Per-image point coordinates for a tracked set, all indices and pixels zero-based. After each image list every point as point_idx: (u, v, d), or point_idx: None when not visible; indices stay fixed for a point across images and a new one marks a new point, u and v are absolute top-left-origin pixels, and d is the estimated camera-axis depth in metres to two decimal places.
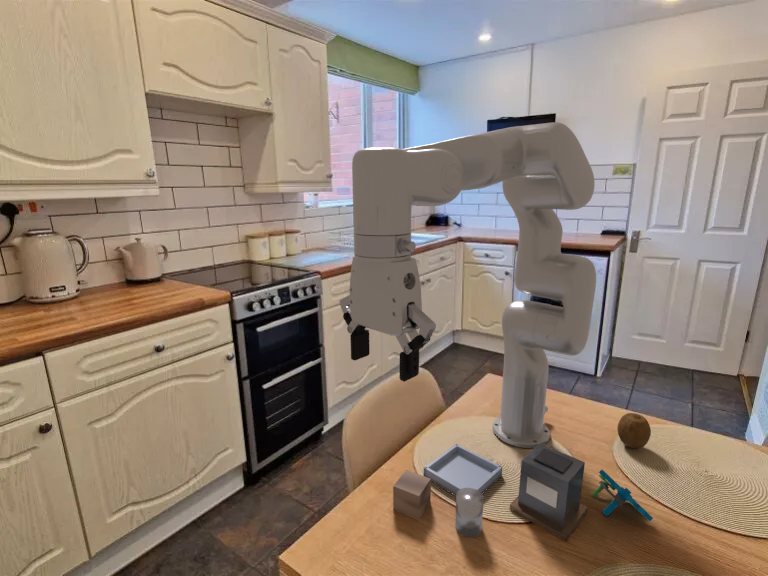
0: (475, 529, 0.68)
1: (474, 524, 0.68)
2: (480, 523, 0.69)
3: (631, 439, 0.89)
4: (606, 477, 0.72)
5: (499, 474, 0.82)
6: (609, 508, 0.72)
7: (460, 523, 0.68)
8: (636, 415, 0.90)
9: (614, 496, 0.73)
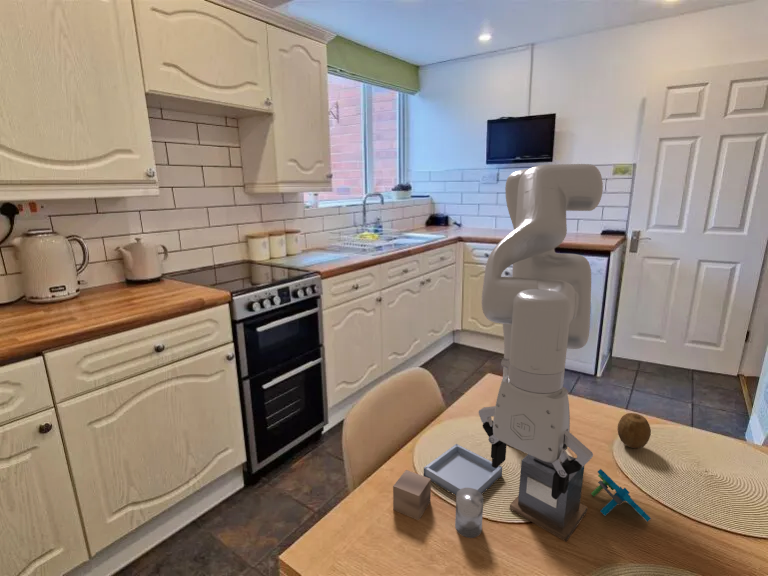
0: (475, 529, 0.68)
1: (474, 524, 0.68)
2: (480, 523, 0.69)
3: (631, 439, 0.89)
4: (604, 476, 0.72)
5: (499, 474, 0.82)
6: (607, 508, 0.72)
7: (460, 523, 0.68)
8: (636, 415, 0.90)
9: (612, 496, 0.73)
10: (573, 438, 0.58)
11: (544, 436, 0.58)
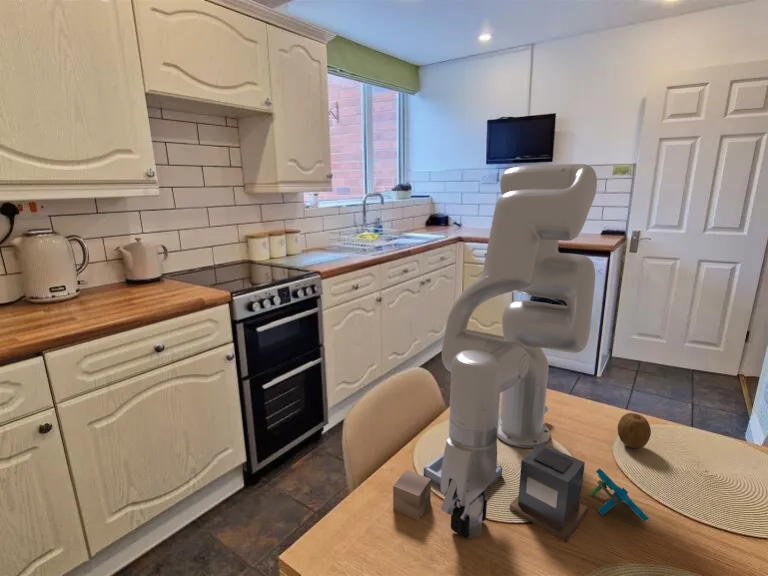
0: (475, 529, 0.68)
1: (474, 524, 0.68)
2: (480, 523, 0.69)
3: (631, 439, 0.89)
4: (602, 476, 0.72)
5: (499, 474, 0.82)
6: (605, 507, 0.72)
7: None
8: (636, 415, 0.90)
9: (610, 495, 0.73)
10: (450, 491, 0.64)
11: None
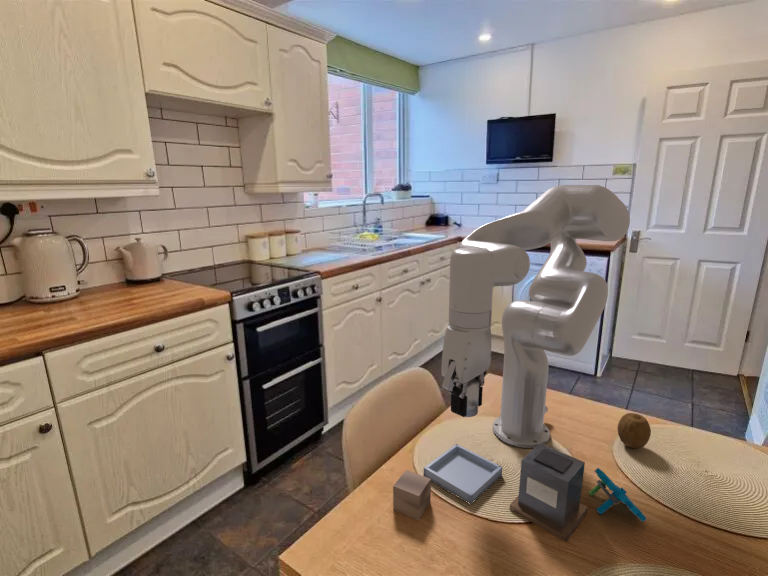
0: (472, 409, 0.77)
1: (471, 404, 0.77)
2: (476, 404, 0.78)
3: (631, 439, 0.89)
4: (600, 475, 0.72)
5: (499, 474, 0.82)
6: (604, 507, 0.73)
7: None
8: (636, 415, 0.90)
9: (609, 495, 0.73)
10: (450, 370, 0.73)
11: None
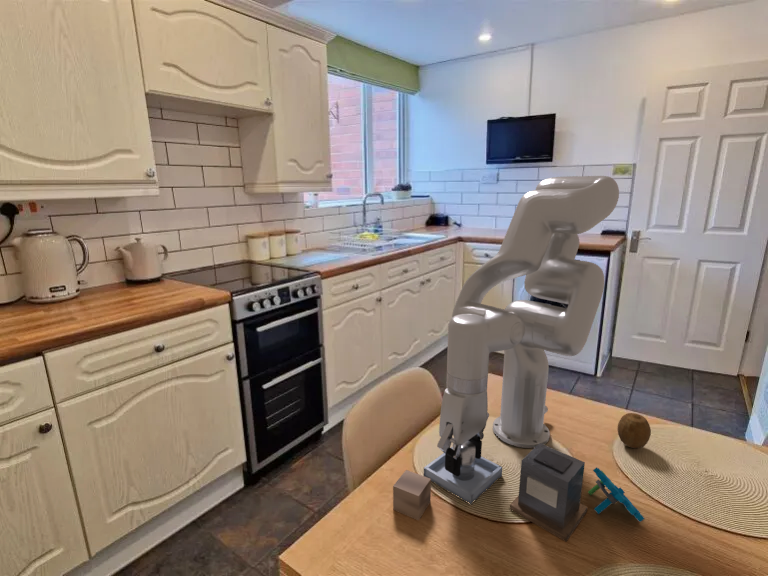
0: (468, 473, 0.80)
1: (467, 468, 0.80)
2: (473, 468, 0.81)
3: (631, 439, 0.89)
4: (598, 475, 0.72)
5: (499, 474, 0.82)
6: (601, 506, 0.73)
7: None
8: (636, 415, 0.90)
9: (607, 495, 0.73)
10: (446, 431, 0.76)
11: None
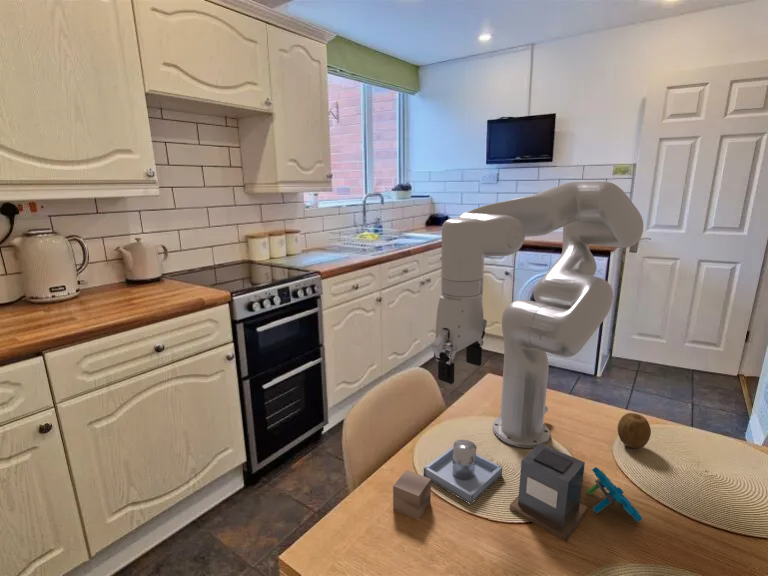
0: (468, 473, 0.80)
1: (467, 468, 0.80)
2: (473, 468, 0.81)
3: (631, 439, 0.89)
4: (597, 474, 0.72)
5: (499, 474, 0.82)
6: (600, 506, 0.73)
7: (456, 468, 0.81)
8: (636, 415, 0.90)
9: (606, 494, 0.73)
10: (442, 334, 0.74)
11: None
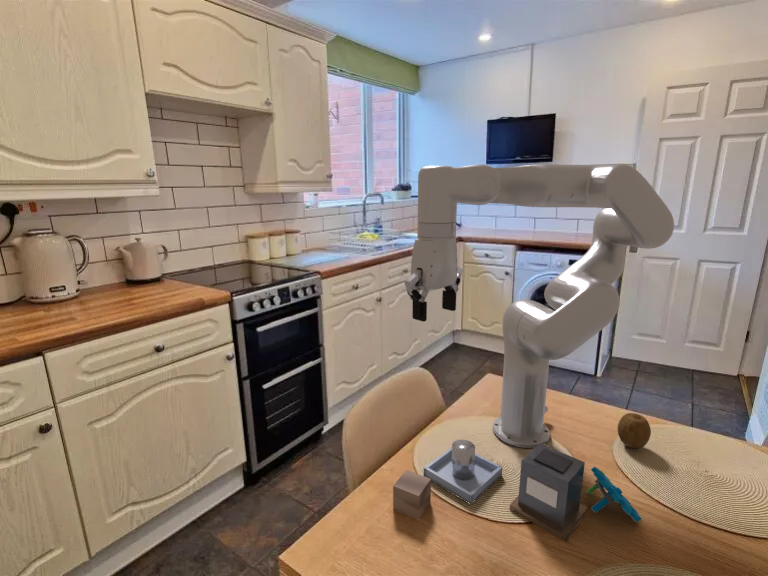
0: (467, 473, 0.80)
1: (466, 469, 0.80)
2: (472, 468, 0.81)
3: (631, 439, 0.89)
4: (595, 474, 0.73)
5: (499, 474, 0.82)
6: (598, 505, 0.73)
7: (455, 468, 0.81)
8: (636, 415, 0.90)
9: (604, 494, 0.73)
10: (415, 273, 0.79)
11: None
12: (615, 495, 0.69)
